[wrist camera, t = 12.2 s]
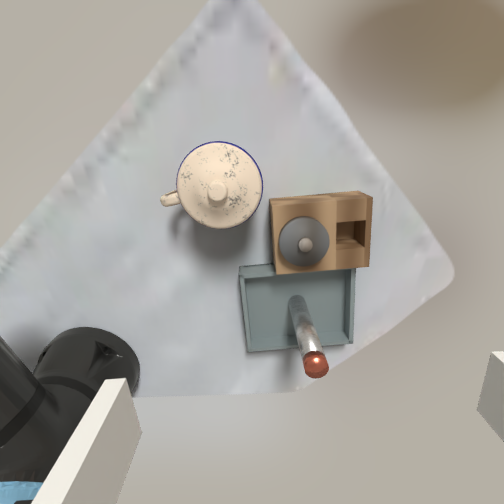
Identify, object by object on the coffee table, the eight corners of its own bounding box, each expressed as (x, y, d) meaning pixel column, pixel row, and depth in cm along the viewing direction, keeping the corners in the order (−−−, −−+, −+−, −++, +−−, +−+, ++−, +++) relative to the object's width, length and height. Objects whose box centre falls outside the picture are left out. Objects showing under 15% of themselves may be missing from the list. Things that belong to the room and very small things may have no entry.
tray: (247, 339, 48) (248, 351, 45) (239, 266, 44) (239, 274, 41) (346, 331, 48) (352, 343, 45) (348, 256, 43) (355, 264, 41)
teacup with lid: (248, 131, 37) (249, 128, 26) (267, 201, 40) (275, 223, 30) (159, 159, 38) (124, 167, 27) (184, 225, 41) (162, 255, 31)
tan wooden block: (273, 260, 43) (278, 282, 37) (269, 198, 40) (273, 210, 33) (355, 253, 43) (376, 274, 36) (358, 190, 40) (380, 201, 33)
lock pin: (288, 310, 46) (305, 379, 33) (288, 295, 45) (304, 360, 32) (305, 309, 46) (328, 377, 33) (305, 294, 45) (328, 358, 32)
